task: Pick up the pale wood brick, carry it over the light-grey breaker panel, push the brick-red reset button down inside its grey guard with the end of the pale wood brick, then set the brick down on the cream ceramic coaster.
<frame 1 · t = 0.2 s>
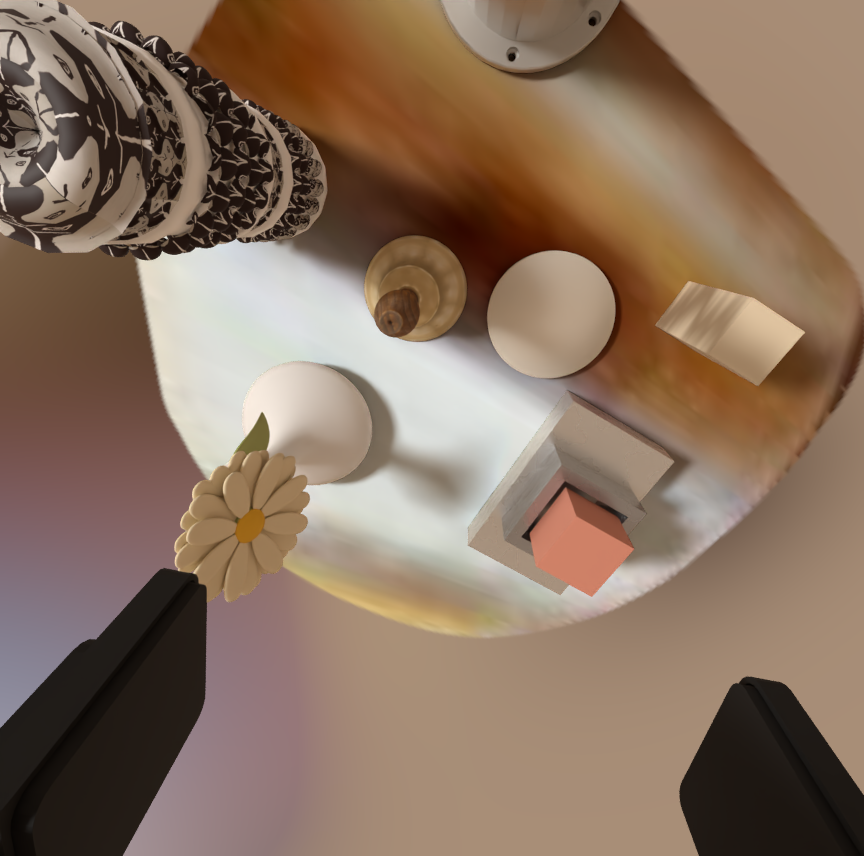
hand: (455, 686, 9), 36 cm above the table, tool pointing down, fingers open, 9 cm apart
hand bell: (415, 289, 42), on the table
pale wood brick: (691, 316, 42), on the table
decorative candle: (274, 181, 40), on the table
flower in vase: (316, 410, 47), on the table
coaster: (549, 315, 42), on the table
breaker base: (560, 488, 48), on the table
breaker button: (578, 540, 40), point 8 cm above the table, slide at 0.0 cm
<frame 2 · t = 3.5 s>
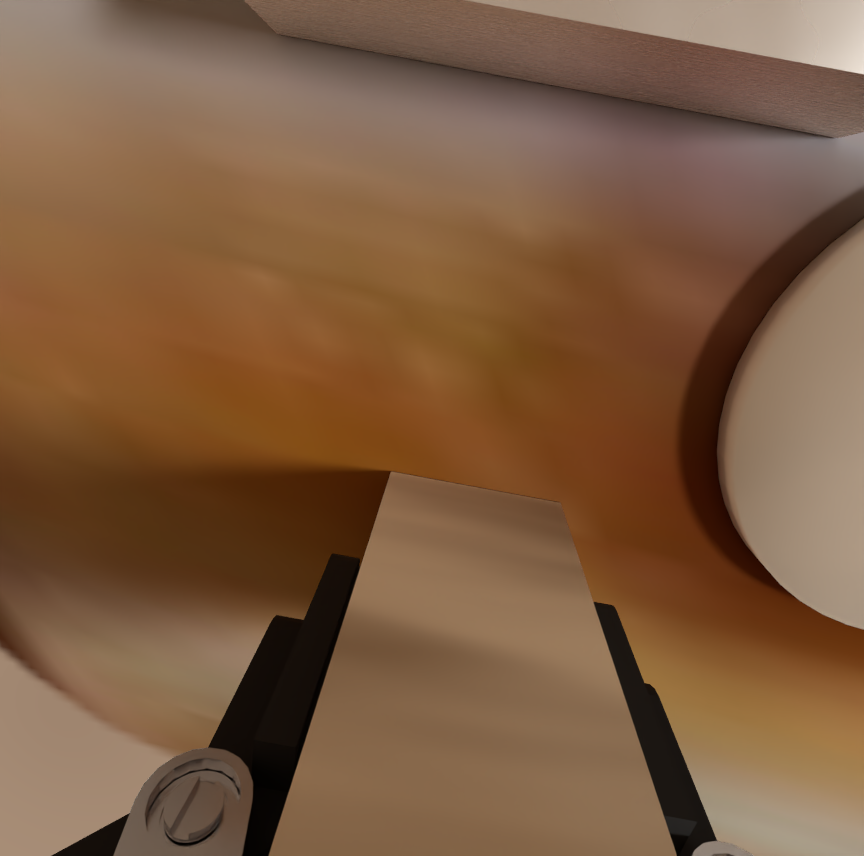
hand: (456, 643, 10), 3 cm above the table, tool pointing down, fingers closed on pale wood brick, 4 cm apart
pale wood brick: (459, 558, 13), on the table, touching gripper
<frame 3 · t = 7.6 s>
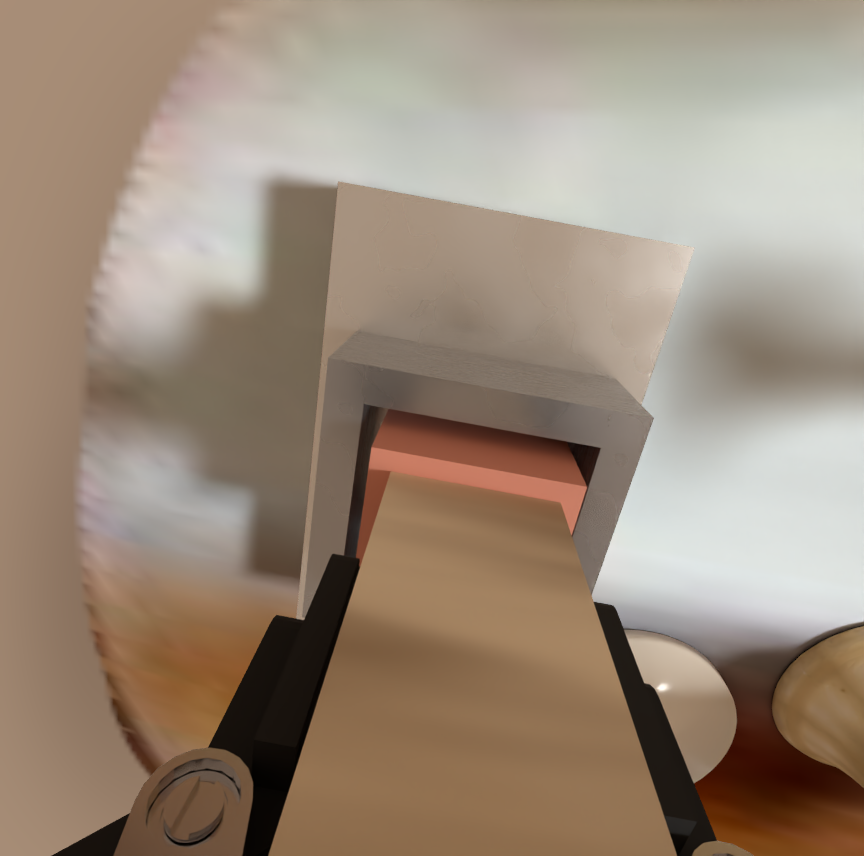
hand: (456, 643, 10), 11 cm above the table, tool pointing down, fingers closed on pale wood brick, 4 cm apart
pale wood brick: (459, 558, 13), point 8 cm above the table, touching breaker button, gripper
coaster: (617, 713, 25), on the table
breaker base: (462, 437, 20), on the table
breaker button: (460, 511, 15), point 6 cm above the table, slide at 2.8 cm, touching pale wood brick
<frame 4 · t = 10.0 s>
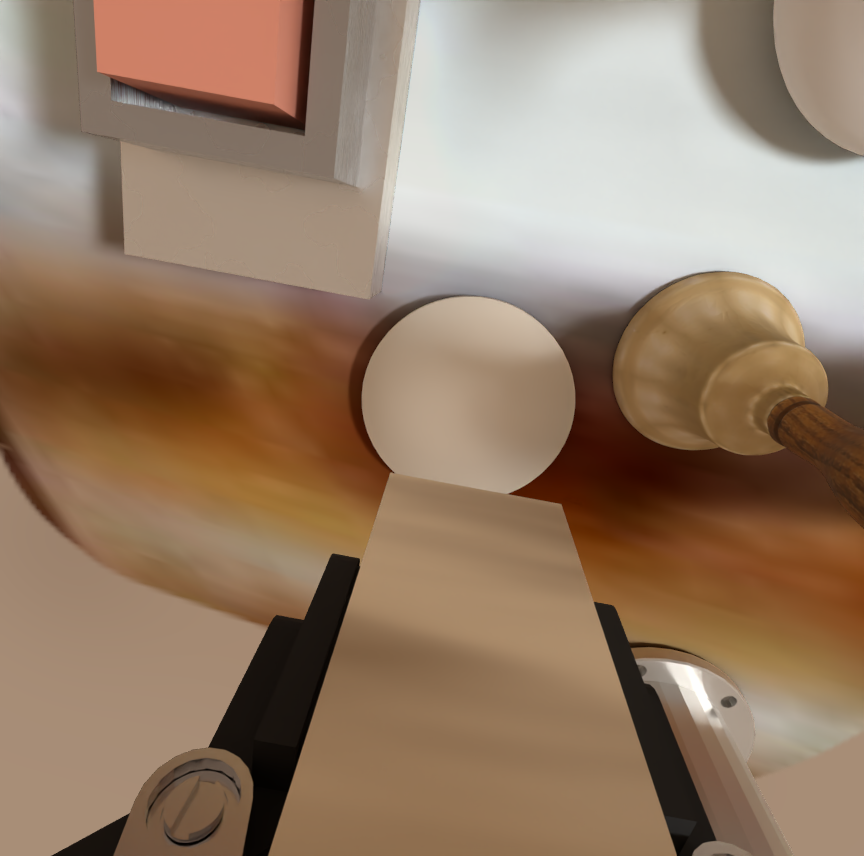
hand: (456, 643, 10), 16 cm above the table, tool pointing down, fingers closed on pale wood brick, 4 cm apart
hand bell: (702, 364, 24), on the table
pale wood brick: (459, 559, 13), point 13 cm above the table, touching gripper
coaster: (467, 401, 25), on the table
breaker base: (285, 66, 21), on the table
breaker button: (223, 10, 16), point 6 cm above the table, slide at 2.8 cm
when the fingers open (4 cm above the table, at t = 11.9 s): pale wood brick stays where it is, resting on coaster.
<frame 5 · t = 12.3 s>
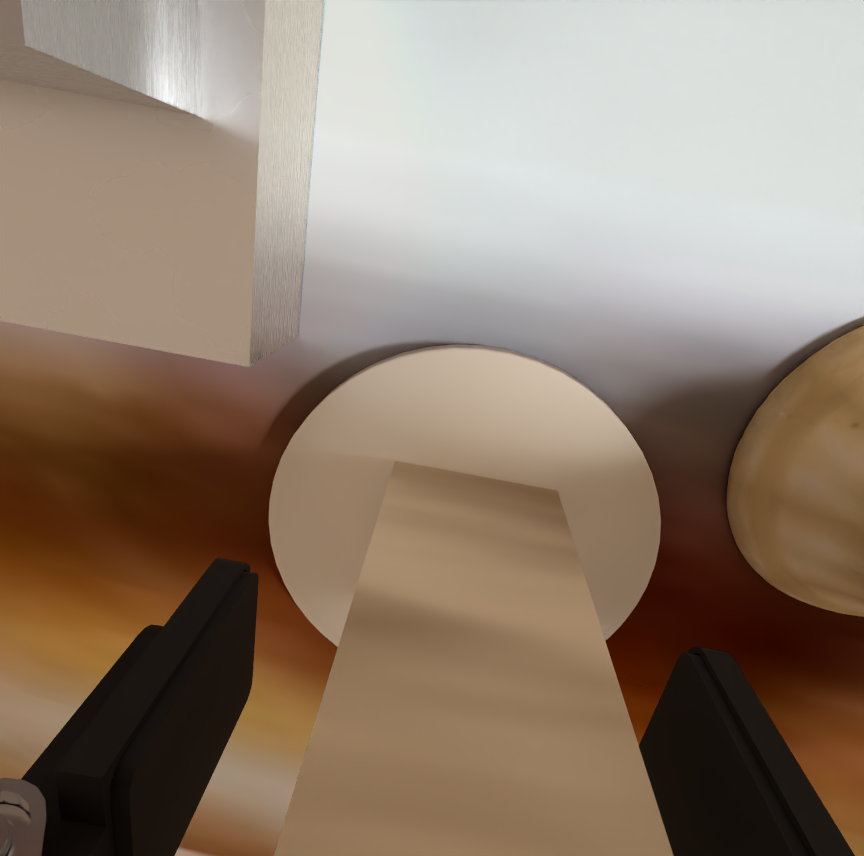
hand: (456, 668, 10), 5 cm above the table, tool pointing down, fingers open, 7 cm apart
pale wood brick: (460, 543, 13), point 1 cm above the table, touching coaster
coaster: (460, 526, 14), on the table
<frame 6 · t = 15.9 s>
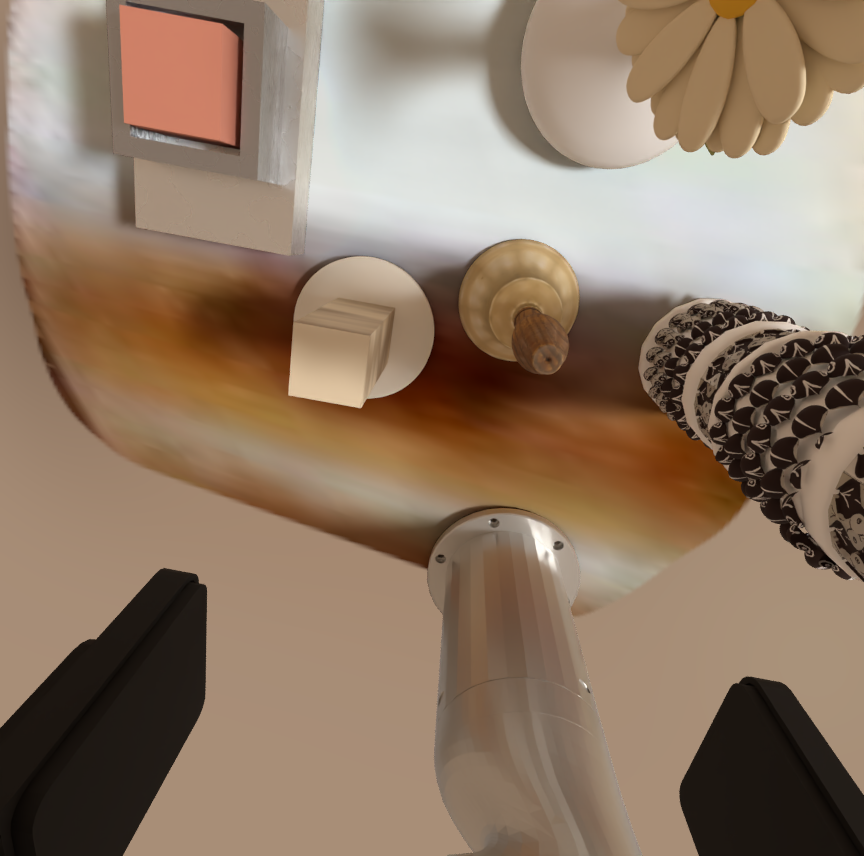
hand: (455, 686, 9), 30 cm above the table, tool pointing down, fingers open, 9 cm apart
hand bell: (517, 302, 37), on the table
pale wood brick: (363, 331, 37), point 1 cm above the table, touching coaster
decorative candle: (697, 358, 37), on the table
flower in vase: (610, 82, 32), on the table
coaster: (365, 328, 38), on the table
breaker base: (236, 108, 33), on the table
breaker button: (193, 86, 28), point 6 cm above the table, slide at 2.8 cm
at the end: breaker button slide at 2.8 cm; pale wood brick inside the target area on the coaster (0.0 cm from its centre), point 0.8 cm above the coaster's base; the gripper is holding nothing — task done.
